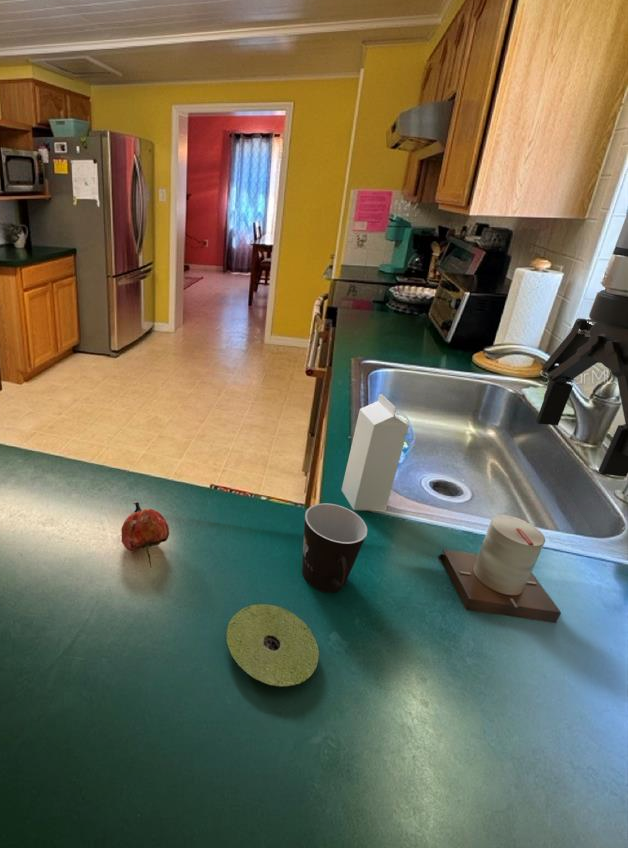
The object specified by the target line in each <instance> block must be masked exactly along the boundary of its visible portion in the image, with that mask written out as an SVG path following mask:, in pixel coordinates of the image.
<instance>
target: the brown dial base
mask: <svg viewBox="0 0 628 848" xmlns="http://www.w3.org/2000/svg"><path fill="white" fill-rule="evenodd" d="M442 552H443V553H441V554H440V556H439V560H440V562H441V564H442V566H443V569H444V570H445V572H446V574H447V576H448V578H449V580H450V582H451V583H452V586H453V587H454V590H455V592H456V593H457V595H458V597H459V600H460V601H461V603H462V605H463V607H464V609H465V610H469V611H475V612H480V613H481V612H482V613H488V614H494V615H495V614H496V615H501V616H507V617H508V616H509V617H513V618H521V619H525V620H526V619H528V620H533V621H540V622H547V623H553V624H556V623H557V622H558V620H559V618H560V616H561V614H562V612H561V610H560V609H559V608H558V607H557V605H556V604H555V602H554V600H552V598H551V596H549V594H548V593H547V591H546V590H545V588H544V587H543V586H542V584H541V583H540V582H539V580H538V579H537V578H536V576H535V575H534V573H533V571H532V572H531V574H530V576H529V579H528V581H527V583H526V585H525V588H524V590H523V592H522V593H521V594H519V595H506V594H502V593H499V592H497V591H495V590H493V589H491V588H489V587H487V586H486V585H485V584H483V583H482V582H481V581H480V580H479V579H478V578H477V577H476V575H475V573H474V570H473V567H474V565H475V562H476V559H477V557H478V554H479V553H474V552H466V551H459V550H452V549H445V548H443V549H442Z"/></svg>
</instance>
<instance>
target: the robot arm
mask: <svg viewBox="0 0 628 848" xmlns="http://www.w3.org/2000/svg"><path fill="white" fill-rule="evenodd" d="M600 285H601V287H603V288H604V289H601V290H600V291H598V292H596V295H595V297H594V300H593V303H592V305H591V309H590V311H589V314H588V316H589V318H583V317H582V318H581V317H580V318H576V320H575V321H574V324H573V325H572V328H571V330H570V332H568V335H567V336H566V337H565V338H564V339H563V340H562V342H561V343H560V344H559V345H558V347H557V348H556V349H555V350H554V351H553V352H552V354H551V355H550V356H549V357H548V359H547V360H546V361H545V362H544V364H543V365H542V367H541V371H542V372H543V373H546V374H547V381H548V384H547V387H546V390H545V393H544V395H543V401H542V404H541V406H540V409H539V412H538V415H537V418H536V420H535V422H536V423H537V424H539V425H547V426H556V427H557V426H559V424H560V422H561V419H562V416H563V413H564V411H565V409H566V406H567V404H568V401H569V398H570V395H571V393H572V390H573V388H574V385H573V383H575V378H577V377H578V376H580V375H581V374H583V373H584V372H586V371H587V370H589V369H590V368H592V367H593V366H595V365H596V364H602V365H603V366H604V367H605V368H607V369H609V370H610V372H611V375H612V376H614V377H615V378H616V381H617V386H618V390H619V396H620V401H621V407H622V412H623V418H624V424H618V425H617V427H616V429H615V432H614V434H613V437H612V439H611V441H610V443H609V446H608V448H607V449H606V452H605V454H604V457H603V459H602V461H601V464H600V466H599V468H598V472H599V473H600V474H601V475H604V476H605V475H606V476H614V477H615V476H616V477H625V478H626V477H627V476H628V207H627V209H626V213H625V218H624V221H623V224H622V225H621V229H620V232H619V234H618V237H617V240H616V242H615V245H614V249H613V252H612V253H611V255H610V258H609V260H608V263H607V265H606V268H605V270H604V273H603V275H602V277H601V280H600ZM571 383H572V384H571Z"/></svg>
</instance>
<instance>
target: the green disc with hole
mask: <svg viewBox="0 0 628 848" xmlns="http://www.w3.org/2000/svg"><path fill="white" fill-rule="evenodd" d="M226 643H227V648H228V649H229V652H230V655H231V657H232V658H233V661H235V662H236V663H237V665H238V666H239V668H241V669H242V670H243V672H246V674H248V675H249V676H250V677H251V678H253V679H255V680H257V681H259V682H261V683H264V684H266V685H268V686H275V687H290V686H296V685H300V684H301V683H304V682H305V681H307V680H308V679H309V678H310V677H311V676H312V675H313V673H314V672H315V671H316V669H317V666H318V663H319V657H320V656H319V655H320V652H319V645H318V643H317V639H316V638H315V636H314V634H313V631H312V630H311V629H310V628H309V626H308V625H307V623H306V622H305V621H303V620H302V619H301V618H300V617H299V616H297V615H296V614H295V613H293V612H292V611H289V610H288V609H286V608H284V607H281V606H277V605H274V604H265V603H264V604H263V603H259V604H251V605H249V606H245V607H243V608H241V609H240V610H238V611H237V612H236V613H234V615H232V617H231V619H230V620H229V623H228V625H227V628H226Z"/></svg>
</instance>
